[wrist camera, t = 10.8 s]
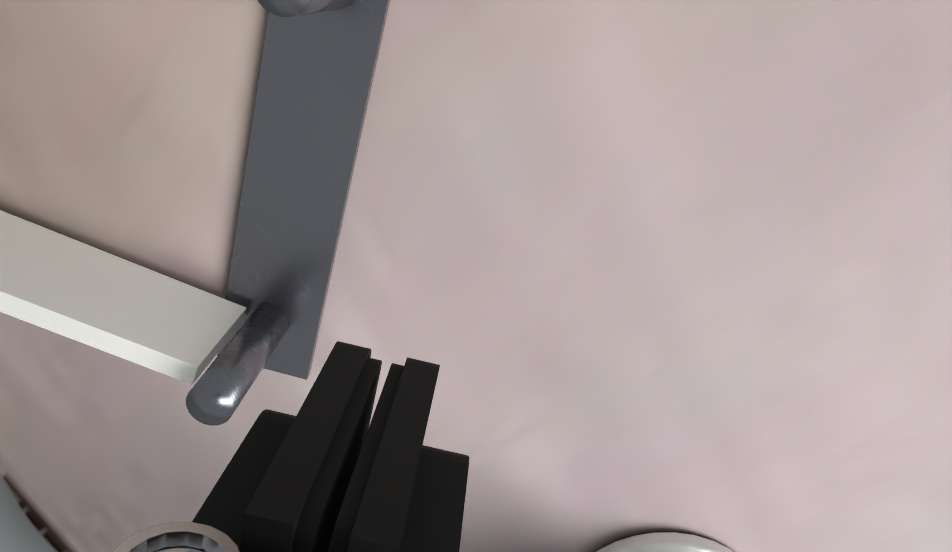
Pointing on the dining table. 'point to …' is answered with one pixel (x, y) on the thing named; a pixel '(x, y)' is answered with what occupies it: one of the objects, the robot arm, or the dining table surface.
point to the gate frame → (293, 190)
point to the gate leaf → (110, 301)
